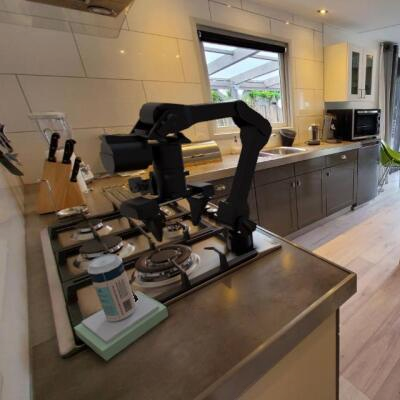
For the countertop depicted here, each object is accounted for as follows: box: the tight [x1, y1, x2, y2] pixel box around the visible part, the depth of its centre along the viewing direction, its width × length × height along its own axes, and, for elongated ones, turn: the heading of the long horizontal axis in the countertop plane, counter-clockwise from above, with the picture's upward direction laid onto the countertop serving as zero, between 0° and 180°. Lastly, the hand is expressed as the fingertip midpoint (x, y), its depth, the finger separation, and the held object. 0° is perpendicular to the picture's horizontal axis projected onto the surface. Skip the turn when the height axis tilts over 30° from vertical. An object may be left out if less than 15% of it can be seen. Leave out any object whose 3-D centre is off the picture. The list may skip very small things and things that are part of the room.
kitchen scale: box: [73, 290, 169, 362], centre depth 49 cm, size 11×10×3 cm
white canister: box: [86, 253, 137, 321], centre depth 46 cm, size 5×5×12 cm
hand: (178, 233), depth 58 cm, fingers open, 9 cm apart
